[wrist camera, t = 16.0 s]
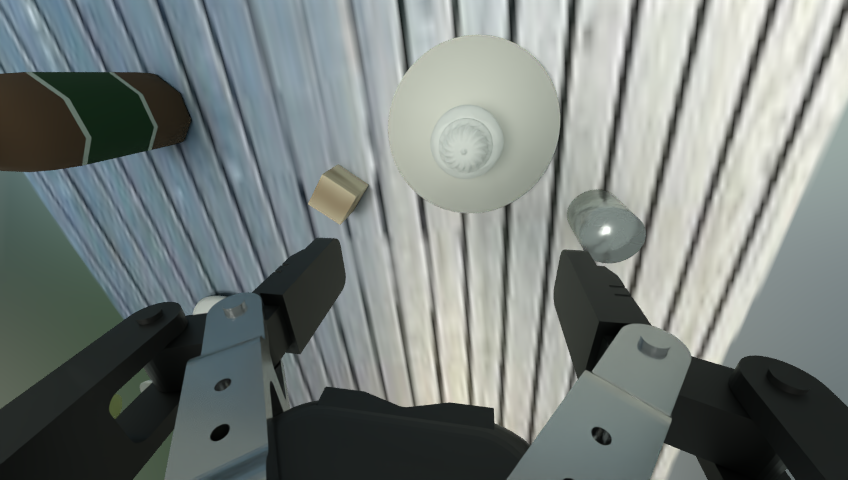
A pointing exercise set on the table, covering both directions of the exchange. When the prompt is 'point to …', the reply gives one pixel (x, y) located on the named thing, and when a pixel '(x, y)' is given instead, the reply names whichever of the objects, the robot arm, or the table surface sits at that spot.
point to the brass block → (337, 193)
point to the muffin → (466, 141)
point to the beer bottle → (85, 118)
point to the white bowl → (490, 89)
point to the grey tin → (605, 226)
